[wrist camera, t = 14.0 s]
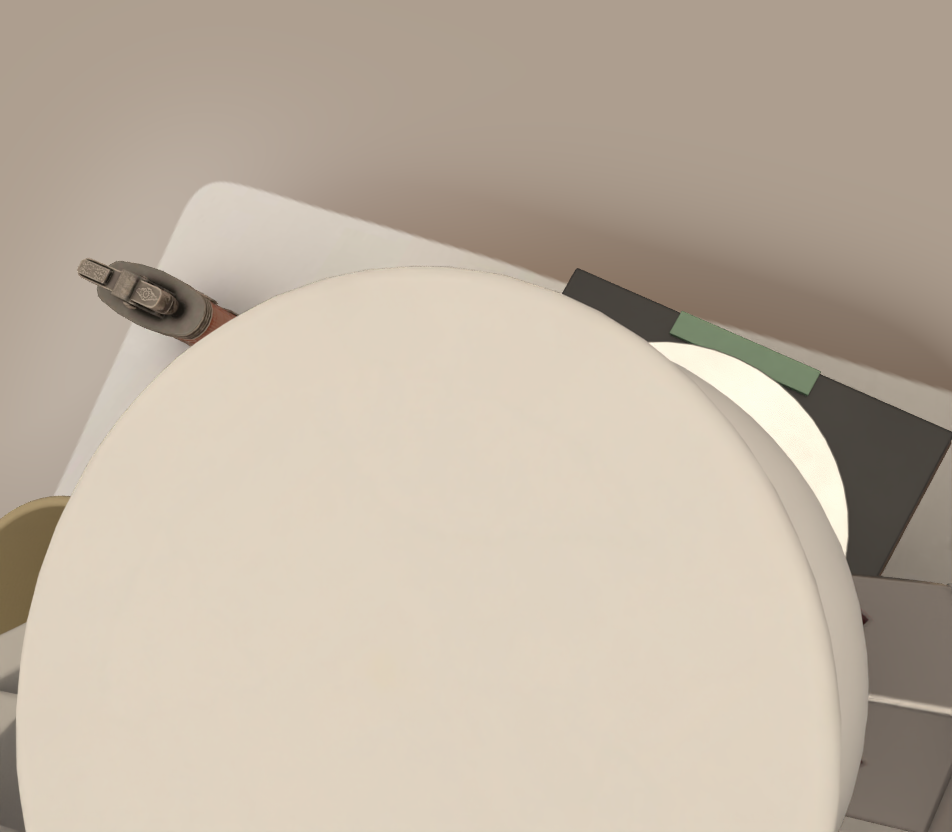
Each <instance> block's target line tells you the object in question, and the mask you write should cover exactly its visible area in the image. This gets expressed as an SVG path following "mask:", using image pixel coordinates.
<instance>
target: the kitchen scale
mask: <svg viewBox="0 0 952 832" xmlns="http://www.w3.org/2000/svg"><path fill="white" fill-rule="evenodd" d="M562 294H563V295H566V296H568V297H570V298H572V299H574V300H576V301H578V302H581V303H583V304H585V305H587V306H589V307H591V308H593V309H596V310H598V311H600V312H602V313H603V314H605V315H606V316H608V317H609V318H611V319H612V320H614V321H616V322H617V323H619V324H620V325H622V326H624V327H625V328H627V329H629V330H630V331H632V332H633V333H635V334H637V335H638V336H640V337H641V338H643V339H644V340H646V341H647V342H648V343H649V344H651V345H652V346H653V347H654V348H656V349H657V350H658V351H659V352H660V353H662V354H663V355H664V356H665V357H666V358H668V359H669V360H670V361H672V362H674V363H676V364H678V365H680V366H682V367H684V368H686V369H687V370H689V371H690V372H692V373H694V374H695V375H697V376H698V377H700V378H701V379H703V380H705V381H706V382H708V383H709V384H711V385H712V386H714V387H715V388H716V389H718V390H719V391H720V392H722V393H723V394H724V395H726V396H727V397H728V398H730V399H731V400H732V401H734V402H735V403H736V404H737V405H738V406H739V407H741V408H742V409H743V410H744V411H745V412H746V413H748V414H749V415H750V416H751V417H752V418H753V419H754V420H755V421H756V422H757V423H758V424H759V425H760V426H761V427H762V428H763V429H764V430H765V431H766V432H767V433H768V434H769V435H770V436H771V437H772V438H773V439H774V440H775V441H776V443H777V444H778V445H779V446H780V447H781V449H782V450H783V451H784V452H785V453H786V455H787V456H788V457H789V458H790V459H791V460H792V462H793V463H794V464H795V466H796V467H797V468H798V470H799V471H800V473H801V474H802V476H803V477H804V479H805V480H806V482H807V483H808V484H809V486H810V487H811V489H812V490H813V492H814V494H815V495H816V497H817V499H818V500H819V502H820V504H821V506H822V508H823V510H824V512H825V514H826V516H827V518H828V520H829V522H830V524H831V526H832V528H833V530H834V532H835V534H836V536H837V538H838V540H839V542H840V544H841V546H842V549H843V552H844V555H845V557H846V560H847V563H848V566H849V569H850V572H851V573H858V574H866V575H875V576H879V575H880V573H881V571H882V569H883V567H884V565H885V563H886V562H887V560H888V558H889V556H890V554H891V552H892V550H893V548H894V547H895V545H896V543H897V541H898V539H899V537H900V535H901V533H902V532H903V530H904V528H905V526H906V524H907V522H908V520H909V518H910V517H911V515H912V513H913V511H914V509H915V507H916V505H917V504H918V502H919V500H920V498H921V496H922V494H923V492H924V490H925V489H926V487H927V485H928V483H929V481H930V479H931V477H932V475H933V474H934V472H935V470H936V468H937V466H938V464H939V462H940V461H941V459H942V457H943V455H944V453H945V451H946V449H947V447H948V446H949V444H950V442H951V440H952V432H951V431H949V430H947V429H944V428H942V427H940V426H937V425H935V424H933V423H931V422H928V421H926V420H924V419H922V418H919V417H917V416H915V415H912V414H910V413H908V412H906V411H903V410H901V409H899V408H896V407H894V406H892V405H890V404H887V403H885V402H883V401H880V400H878V399H876V398H874V397H871V396H869V395H867V394H864V393H862V392H860V391H858V390H855V389H853V388H851V387H848V386H846V385H844V384H842V383H839V382H837V381H835V380H832V379H830V378H828V377H826V376H823V375H821V374H820V373H821V371H819V370H816V369H814V368H812V367H810V366H807V365H805V364H803V363H800V362H798V361H796V360H794V359H791V358H789V357H787V356H784V355H782V354H780V353H778V352H775V351H773V350H771V349H768V348H766V347H764V346H761V345H759V344H757V343H755V342H752V341H750V340H748V339H745V338H743V337H741V336H739V335H736V334H734V333H732V332H729V331H727V330H725V329H723V328H720V327H718V326H716V325H713V324H711V323H709V322H706V321H704V320H702V319H700V318H697V317H695V316H693V315H690V314H688V313H686V312H684V311H681V313H679V312H677V311H675V310H673V309H670V308H668V307H666V306H663V305H661V304H659V303H656V302H654V301H652V300H650V299H647V298H645V297H643V296H641V295H638V294H636V293H633V292H631V291H629V290H627V289H624V288H622V287H620V286H618V285H615V284H613V283H611V282H608V281H606V280H604V279H602V278H599V277H597V276H595V275H593V274H590V273H588V272H586V271H583V270H581V269H578V268H577V269H576V270H575V272H574V274H573V275H572V277H571V279H570V280H569V282H568V284H567V286H566V287H565V289H564V291H563V293H562Z"/></svg>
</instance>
